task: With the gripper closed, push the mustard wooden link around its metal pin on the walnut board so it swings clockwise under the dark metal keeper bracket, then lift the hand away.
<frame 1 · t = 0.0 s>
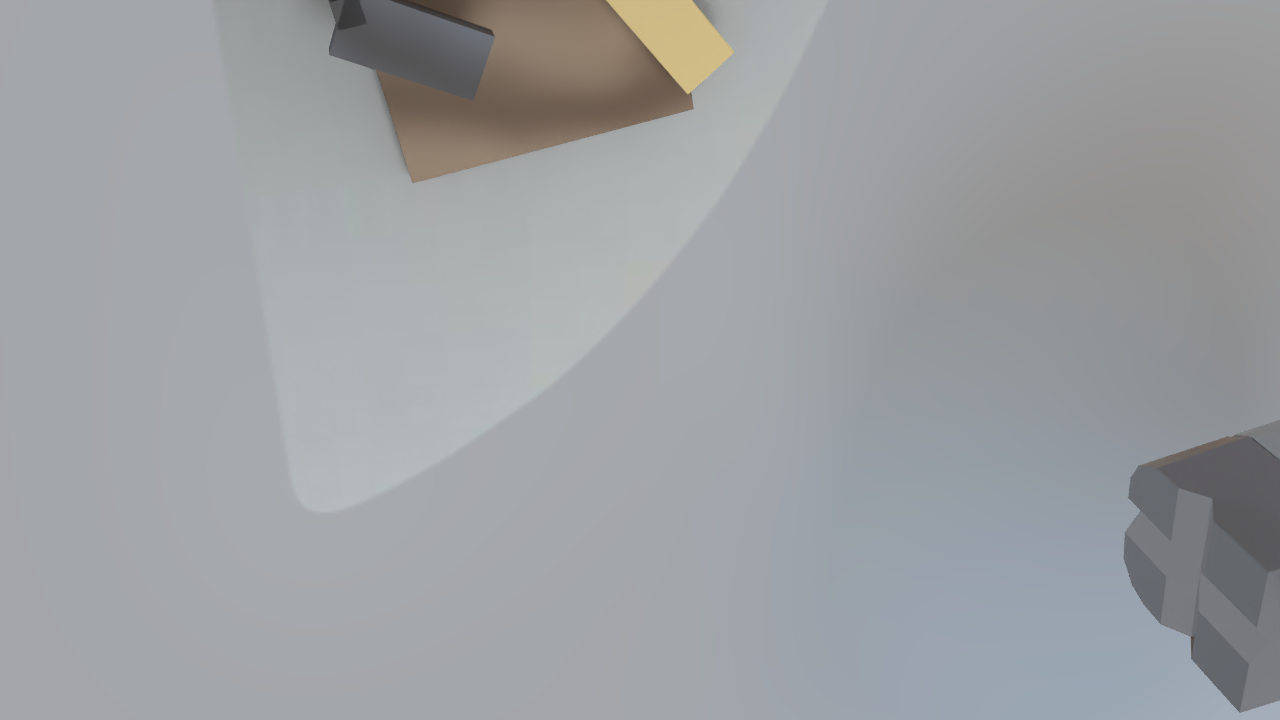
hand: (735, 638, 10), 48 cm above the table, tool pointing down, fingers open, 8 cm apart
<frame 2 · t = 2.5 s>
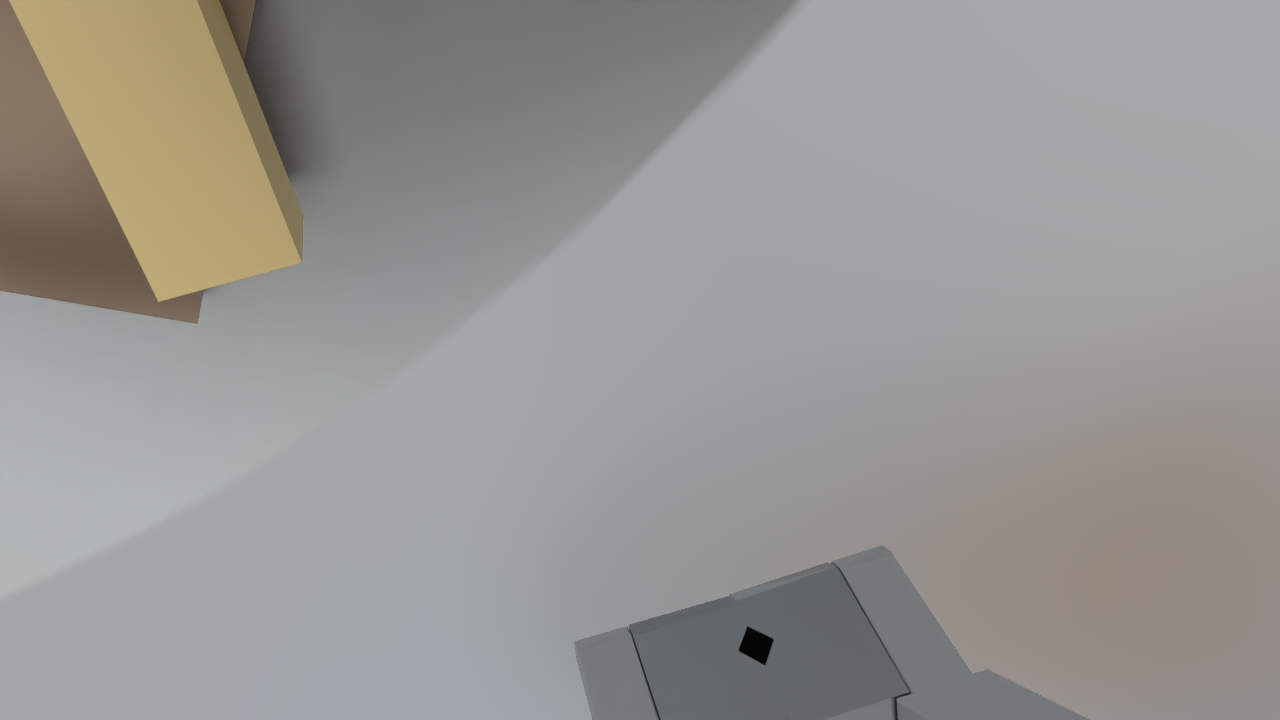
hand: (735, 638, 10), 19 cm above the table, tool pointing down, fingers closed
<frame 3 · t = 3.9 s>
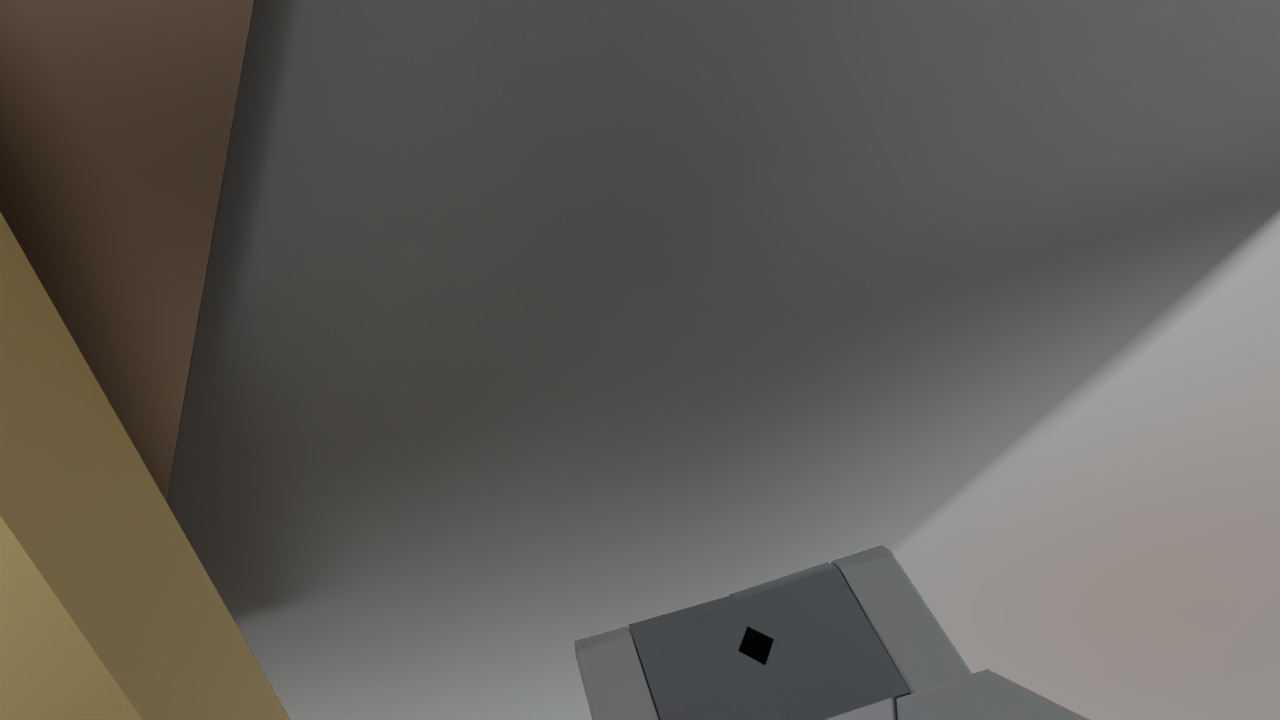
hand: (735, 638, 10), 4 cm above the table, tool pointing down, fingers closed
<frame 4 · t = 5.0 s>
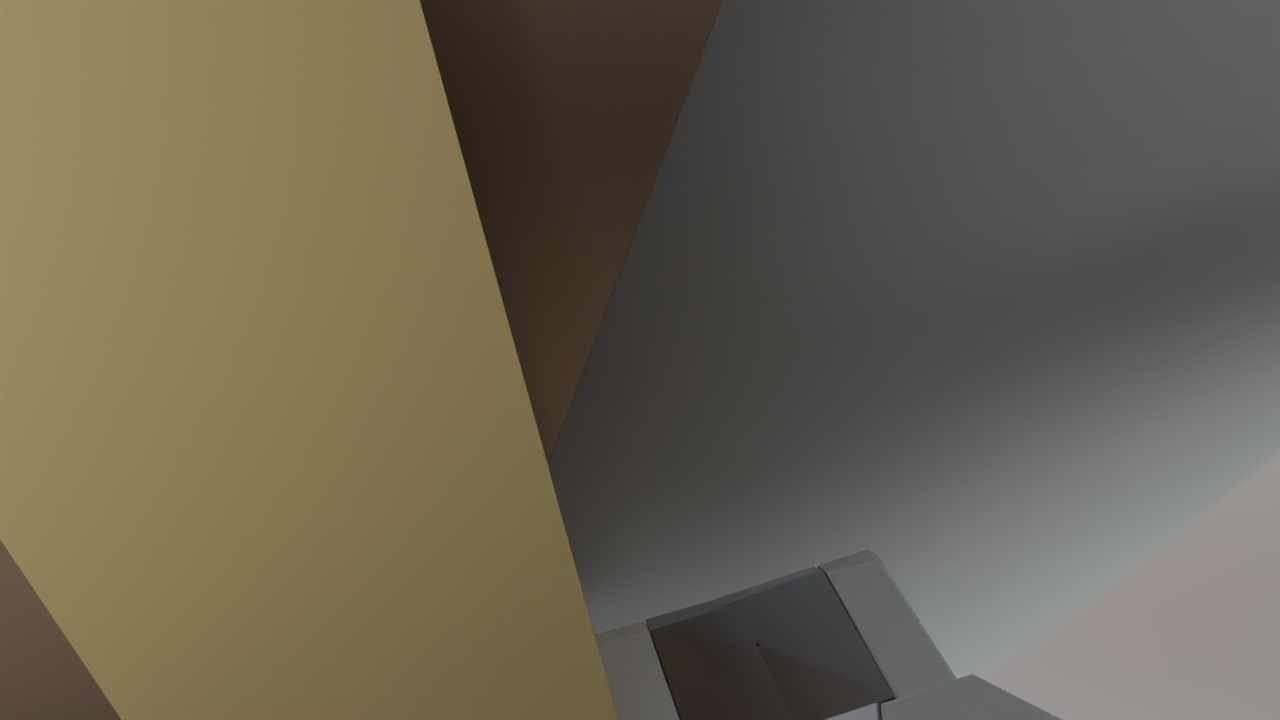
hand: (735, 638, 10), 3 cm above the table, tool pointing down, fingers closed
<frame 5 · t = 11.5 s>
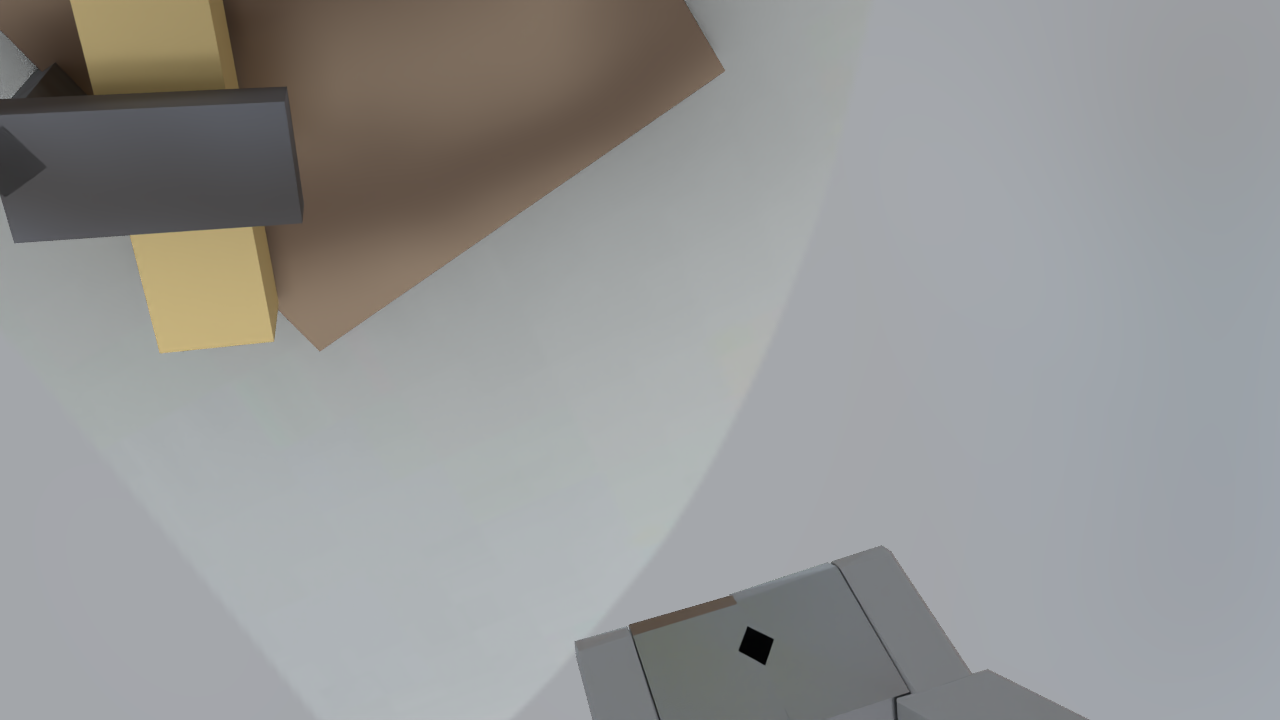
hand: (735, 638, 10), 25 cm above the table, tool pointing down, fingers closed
link: (150, 2, 27), point 3 cm above the table, hinge at 62.0°
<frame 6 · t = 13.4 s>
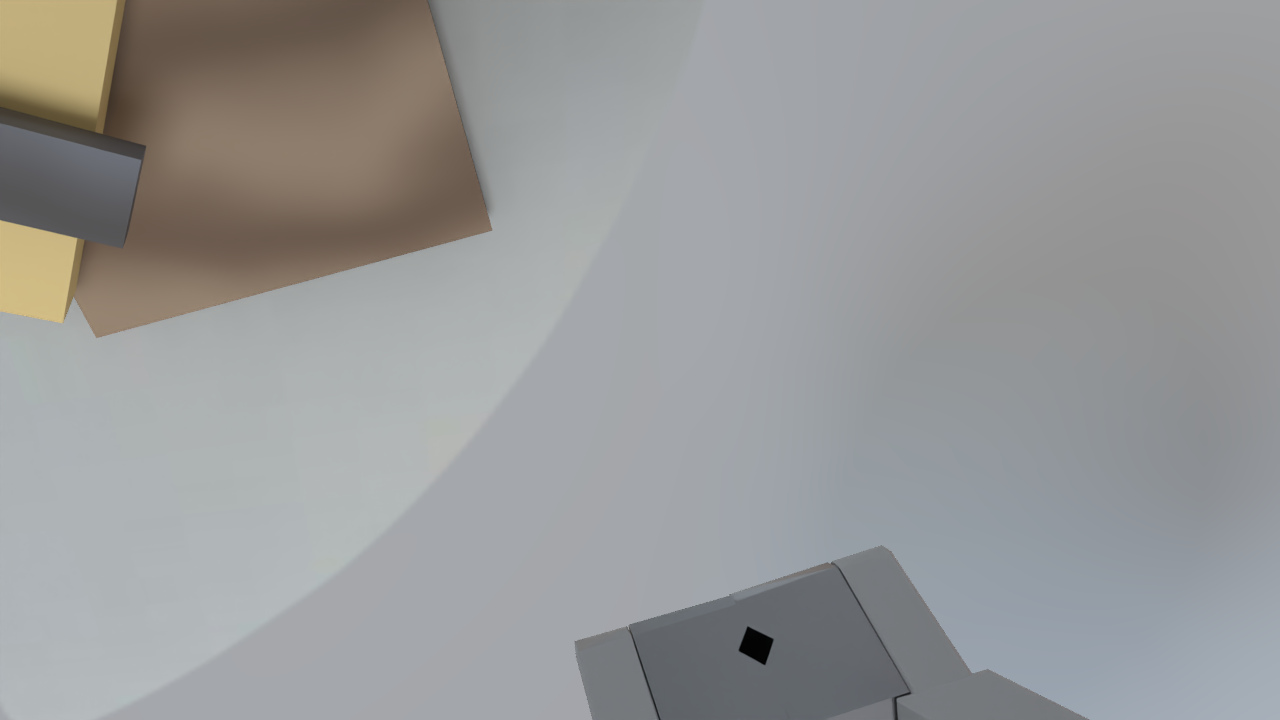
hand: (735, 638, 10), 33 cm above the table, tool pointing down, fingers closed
link: (58, 44, 34), point 3 cm above the table, hinge at 62.0°
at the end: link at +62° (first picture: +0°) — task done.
